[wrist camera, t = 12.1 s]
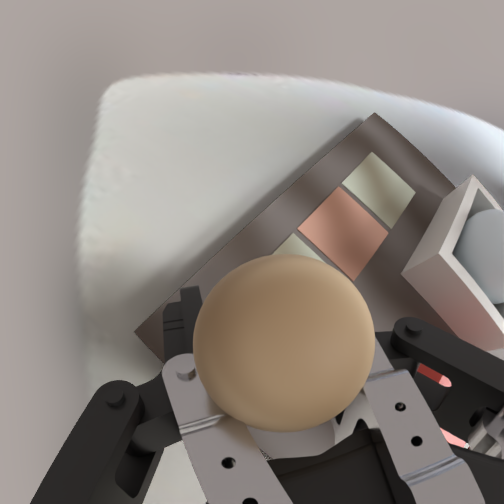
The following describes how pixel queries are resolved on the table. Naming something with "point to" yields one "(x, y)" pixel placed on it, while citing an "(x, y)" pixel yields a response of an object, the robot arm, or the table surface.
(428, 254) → the housing
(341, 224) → the board
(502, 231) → the white ball
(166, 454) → the table surface
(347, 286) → the pawn
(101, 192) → the table surface
